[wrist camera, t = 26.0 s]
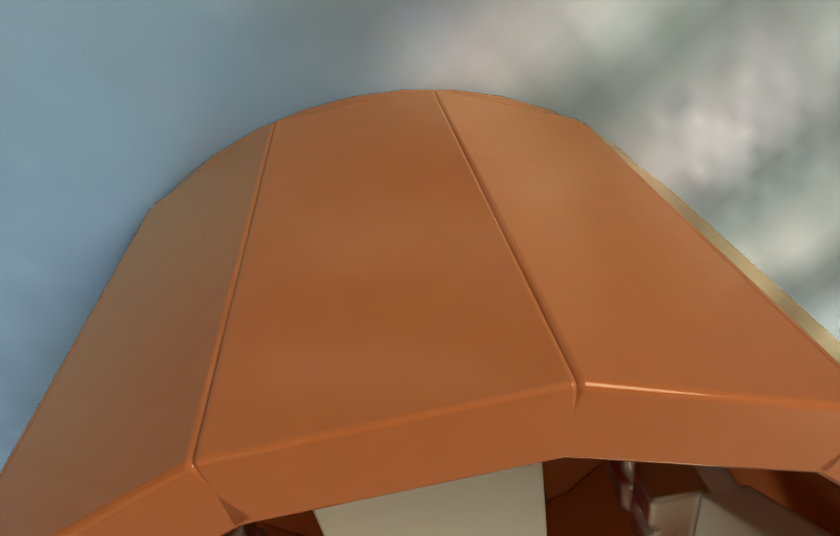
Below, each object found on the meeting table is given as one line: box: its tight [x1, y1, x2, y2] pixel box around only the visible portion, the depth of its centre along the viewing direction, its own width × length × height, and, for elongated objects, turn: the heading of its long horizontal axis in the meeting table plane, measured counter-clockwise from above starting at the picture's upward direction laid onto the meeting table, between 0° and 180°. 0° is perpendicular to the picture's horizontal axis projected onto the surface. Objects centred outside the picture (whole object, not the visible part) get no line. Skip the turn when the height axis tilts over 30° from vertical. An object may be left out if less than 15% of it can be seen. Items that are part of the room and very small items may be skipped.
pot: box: [0, 90, 840, 536], centre depth 11 cm, size 14×14×8 cm
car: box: [313, 462, 547, 536], centre depth 12 cm, size 8×5×4 cm, turn 9°
